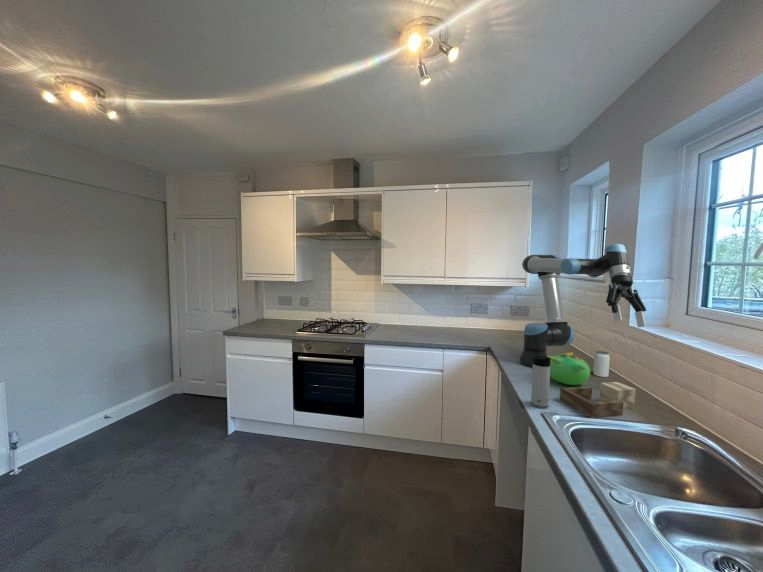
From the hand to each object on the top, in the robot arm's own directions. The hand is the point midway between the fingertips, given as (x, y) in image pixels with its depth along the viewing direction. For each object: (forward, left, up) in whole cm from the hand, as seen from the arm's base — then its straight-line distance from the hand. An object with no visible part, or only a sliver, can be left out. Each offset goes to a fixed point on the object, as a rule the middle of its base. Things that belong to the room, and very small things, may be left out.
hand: (630, 323), depth 130 cm
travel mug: (-15, -37, -33) cm, 51 cm away
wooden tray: (-4, -20, -33) cm, 38 cm away
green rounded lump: (-23, -3, -33) cm, 40 cm away
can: (-21, +25, -33) cm, 46 cm away
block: (0, -9, -33) cm, 34 cm away
